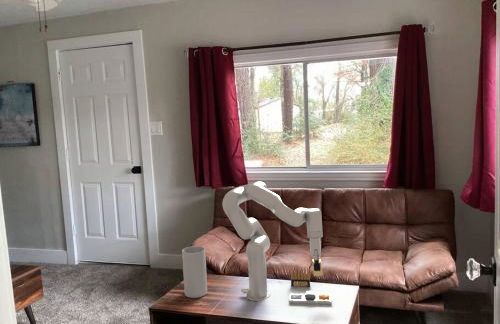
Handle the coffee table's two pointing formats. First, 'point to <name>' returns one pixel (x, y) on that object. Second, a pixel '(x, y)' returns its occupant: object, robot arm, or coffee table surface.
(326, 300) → the rail
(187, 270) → the cylinder vase
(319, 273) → the gold brushed block
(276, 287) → the coffee table surface
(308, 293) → the grey brushed cube
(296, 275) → the ammunition clip
